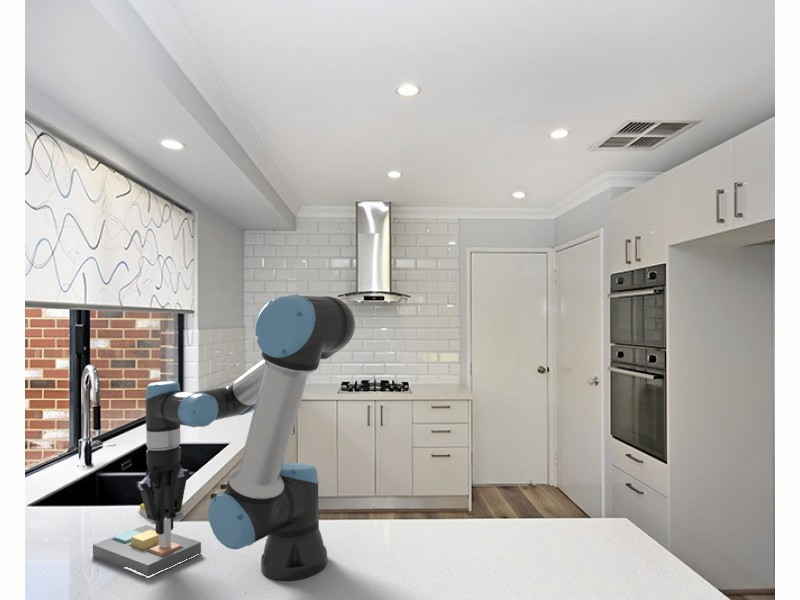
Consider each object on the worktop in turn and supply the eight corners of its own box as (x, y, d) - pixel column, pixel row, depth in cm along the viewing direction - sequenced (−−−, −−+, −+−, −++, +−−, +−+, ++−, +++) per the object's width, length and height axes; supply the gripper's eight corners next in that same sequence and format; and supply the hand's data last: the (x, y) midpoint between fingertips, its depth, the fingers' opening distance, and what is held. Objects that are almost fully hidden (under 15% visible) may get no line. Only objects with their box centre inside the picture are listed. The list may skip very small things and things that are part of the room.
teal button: (144, 545, 137) (144, 533, 137) (125, 553, 133) (125, 540, 133) (133, 541, 140) (133, 529, 140) (114, 548, 135) (114, 536, 135)
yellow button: (162, 545, 133) (162, 533, 133) (143, 553, 129) (143, 540, 129) (150, 541, 136) (150, 529, 136) (131, 549, 131) (131, 536, 132)
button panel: (201, 554, 132) (200, 542, 132) (148, 578, 120) (147, 565, 120) (145, 536, 144) (145, 525, 144) (92, 556, 132) (92, 544, 132)
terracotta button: (181, 557, 129) (180, 545, 129) (162, 566, 125) (162, 553, 125) (168, 553, 132) (168, 541, 132) (149, 561, 127) (149, 548, 127)
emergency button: (153, 510, 153) (136, 498, 164) (154, 526, 153) (136, 513, 164) (186, 502, 159) (167, 491, 170) (186, 516, 159) (167, 505, 170)
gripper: (177, 439, 136) (179, 533, 136) (128, 451, 125) (129, 553, 125) (196, 442, 132) (198, 539, 132) (147, 454, 121) (148, 560, 121)
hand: (164, 545), depth 128 cm, fingers closed
